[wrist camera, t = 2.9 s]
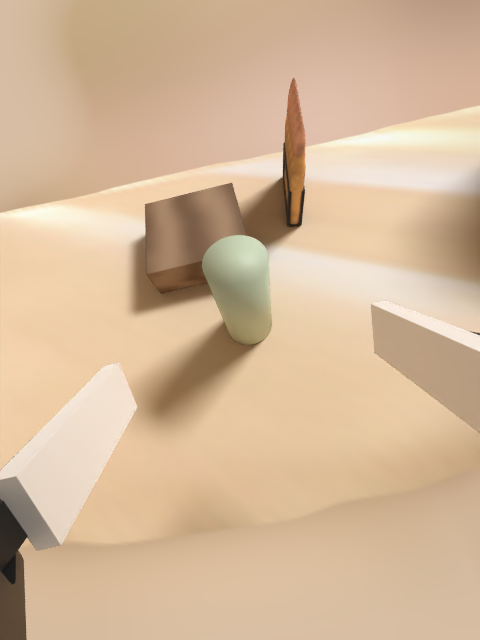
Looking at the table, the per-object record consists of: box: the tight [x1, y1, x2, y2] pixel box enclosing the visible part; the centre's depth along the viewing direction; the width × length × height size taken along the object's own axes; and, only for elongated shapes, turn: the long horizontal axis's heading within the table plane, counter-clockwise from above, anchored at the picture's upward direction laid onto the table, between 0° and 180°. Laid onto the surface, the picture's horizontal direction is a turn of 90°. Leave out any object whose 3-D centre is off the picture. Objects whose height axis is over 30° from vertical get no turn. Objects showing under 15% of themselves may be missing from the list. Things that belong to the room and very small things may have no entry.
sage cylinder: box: [202, 235, 272, 345], centre depth 24 cm, size 5×5×11 cm
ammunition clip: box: [283, 78, 305, 226], centre depth 31 cm, size 11×2×12 cm, turn 179°
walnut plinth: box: [145, 183, 247, 293], centre depth 33 cm, size 12×12×4 cm
